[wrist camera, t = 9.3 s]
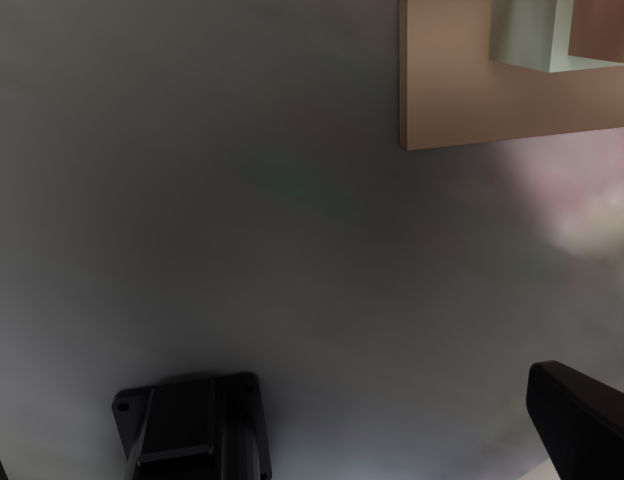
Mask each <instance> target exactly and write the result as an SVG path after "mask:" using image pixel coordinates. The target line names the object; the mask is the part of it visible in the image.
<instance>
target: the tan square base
mask: <svg viewBox="0 0 624 480" xmlns="http://www.w3.org/2000/svg"><path fill="white" fill-rule="evenodd" d="M573 4H574V0H399V103H400V145H401V146H402V147H403V148H405V149H406V150H407V151H409V150H418V149H427V148H436V147H445V146H454V145H463V144H472V143H482V142H491V141H500V140H509V139H518V138H527V137H536V136H545V135H554V134H563V133H572V132H581V131H590V130H599V129H609V128H618V127H624V63H617V62H610V61H603V60H596V59H590V58H583V57H576V56H569V55H568V48H569V39H570V30H571V21H572V13H573Z"/></svg>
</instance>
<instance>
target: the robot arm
mask: <svg viewBox="0 0 624 480" xmlns="http://www.w3.org/2000/svg"><path fill="white" fill-rule="evenodd" d="M245 384H252V386H250V387H245V386H244V385H245ZM121 402H126V403H128V405H122V404H121ZM526 406H527V410H528V413H529V416H530V418H531V420H532V422H533V424H534V426H535V428H536V430H537V432H538V434H539V436H540V438H541V440H542V442H543V444H544V447H545V449H546V451H547V453H548V455H549V457H550V459H551V461H552V463H553V465H554V467H555V469H556V471H557V473H558V475H559V478H560V479H561V480H624V393H623V392H621V391H618V390H616V389H614V388H612V387H610V386H608V385H606V384H604V383H602V382H600V381H598V380H596V379H594V378H592V377H589V376H587V375H585V374H583V373H581V372H579V371H577V370H575V369H573V368H571V367H569V366H567V365H565V364H562V363H560V362H558V361H555V360H551V361H544V362H537V363H534V364H532V365H531V367H530V370H529V377H528V386H527V394H526ZM112 411H113V414H114V417H115V421H116V424H117V427H118V431H119V434H120V438H121V441H122V444H123V448H124V451H125V455H126V458H127V461H128V464H127V469H126V473H125V477H124V480H270V479H271V478H272V468H271V461H270V454H269V448H268V441H267V434H266V427H265V420H264V413H263V406H262V399H261V392H260V385H259V380H258V377H256V376H255V375H253V374H241V375H234V376H227V377H220V378H213V379H205V380H199V381H192V382H185V383H178V384H171V385H165V386H158V387H152V388H145V389H139V390H132V391H125V392H121V393H118V394H117V395H115V397H114V399H113V403H112ZM260 473H263V474H260ZM0 480H8V478H7V475H6V473H5V471H4V468H3V466H2V464H1V461H0Z"/></svg>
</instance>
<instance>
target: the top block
mask: <svg viewBox="0 0 624 480" xmlns="http://www.w3.org/2000/svg"><path fill="white" fill-rule="evenodd" d="M568 55H569V56H576V57H583V58H590V59H596V60H603V61H610V62H617V63H624V0H574V4H573V13H572V21H571V30H570V39H569V48H568Z"/></svg>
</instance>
